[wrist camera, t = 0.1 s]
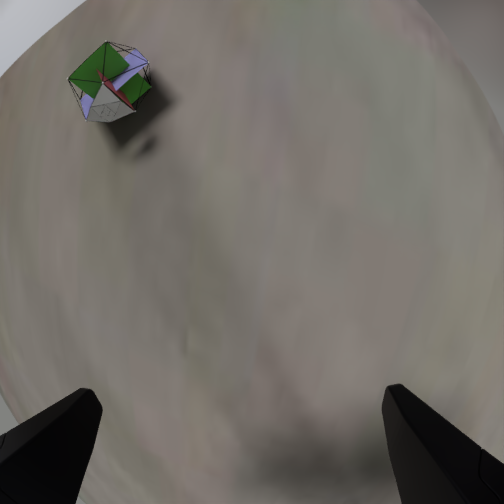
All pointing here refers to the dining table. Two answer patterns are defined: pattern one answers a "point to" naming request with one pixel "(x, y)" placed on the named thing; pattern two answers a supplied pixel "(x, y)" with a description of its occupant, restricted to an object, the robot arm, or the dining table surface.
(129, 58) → the geometric puzzle
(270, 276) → the dining table surface
